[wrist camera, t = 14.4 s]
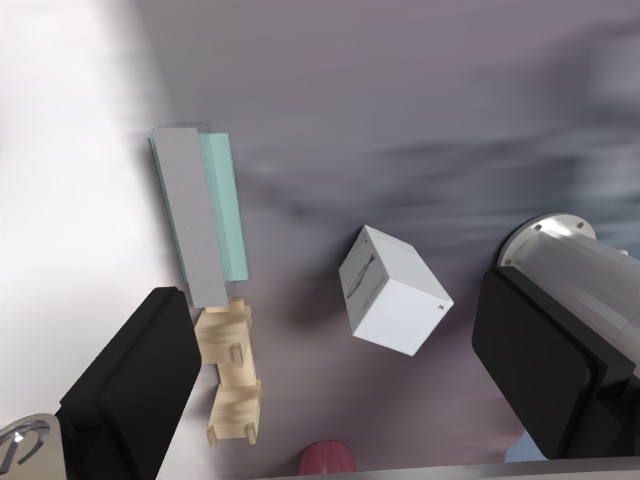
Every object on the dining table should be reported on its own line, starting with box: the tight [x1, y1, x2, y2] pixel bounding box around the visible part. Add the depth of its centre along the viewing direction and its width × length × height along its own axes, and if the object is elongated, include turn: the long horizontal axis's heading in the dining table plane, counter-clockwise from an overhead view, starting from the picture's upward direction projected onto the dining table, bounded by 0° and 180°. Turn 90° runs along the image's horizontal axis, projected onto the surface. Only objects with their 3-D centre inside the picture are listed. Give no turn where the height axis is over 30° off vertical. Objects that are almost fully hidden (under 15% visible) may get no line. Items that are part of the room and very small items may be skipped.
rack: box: [194, 297, 262, 447], centre depth 42 cm, size 6×20×8 cm, turn 1°
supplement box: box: [339, 225, 454, 356], centre depth 35 cm, size 7×7×13 cm
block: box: [152, 124, 235, 308], centre depth 34 cm, size 20×4×4 cm, turn 2°
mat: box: [149, 133, 249, 283], centre depth 36 cm, size 8×18×1 cm, turn 1°
